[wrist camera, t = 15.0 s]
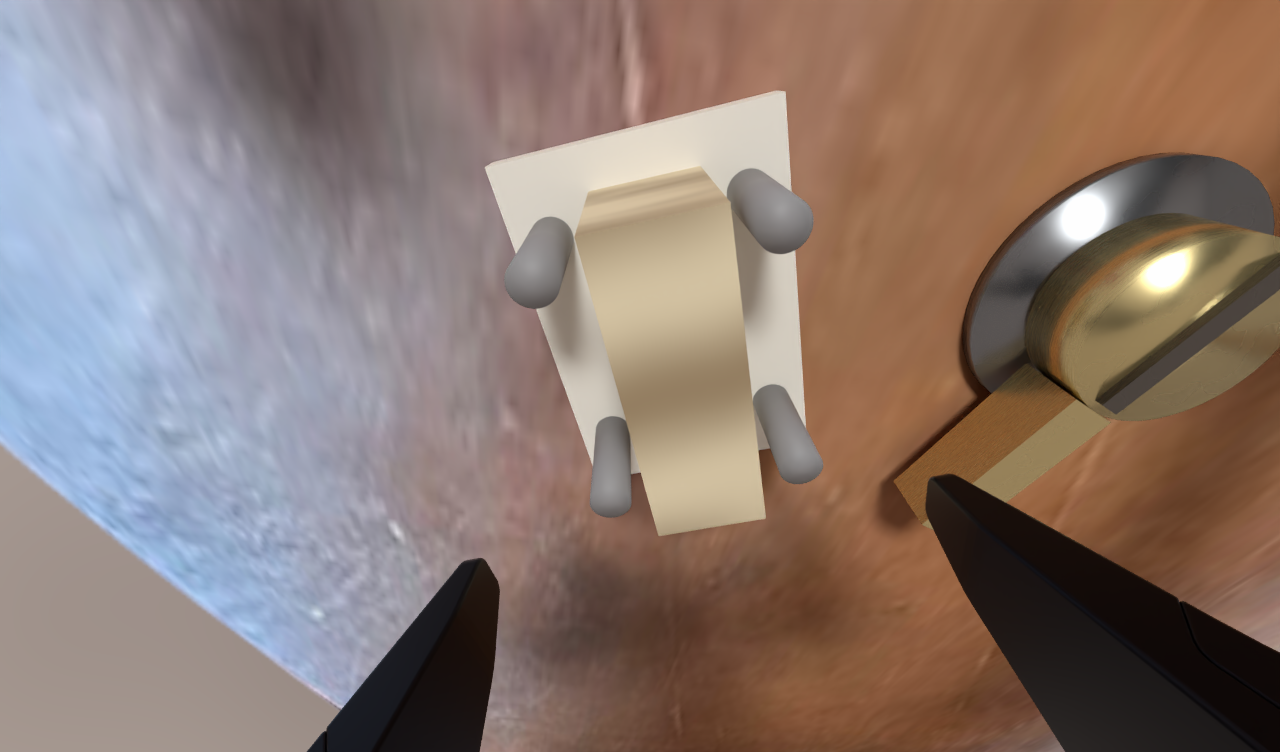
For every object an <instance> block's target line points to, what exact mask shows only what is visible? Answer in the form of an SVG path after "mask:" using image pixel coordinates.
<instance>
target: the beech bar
mask: <svg viewBox="0 0 1280 752" xmlns="http://www.w3.org/2000/svg"><path fill="white" fill-rule="evenodd" d="M574 238H575V241H576V245H577V248H578V252H579V255H580V259H581V263H582V266H583V270H584V273H585V277H586V280H587V284H588V287H589V291H590V295H591V298H592V302H593V305H594V309H595V312H596V316H597V319H598V323H599V326H600V330H601V334H602V337H603V341H604V344H605V348H606V351H607V355H608V358H609V362H610V365H611V369H612V373H613V376H614V380H615V383H616V387H617V390H618V394H619V397H620V401H621V405H622V408H623V412H624V415H625V419H626V422H627V426H628V429H629V433H630V436H631V440H632V444H633V447H634V451H635V454H636V458H637V461H638V465H639V468H640V472H641V475H642V479H643V483H644V486H645V490H646V493H647V497H648V500H649V504H650V507H651V511H652V515H653V518H654V522H655V525H656V529H657V532H658V536H663V535H669V534H675V533H681V532H687V531H693V530H699V529H705V528H711V527H717V526H723V525H729V524H735V523H741V522H747V521H753V520H759V519H765V518H766V516H765V507H764V498H763V489H762V480H761V471H760V462H759V453H758V444H757V435H756V426H755V417H754V408H753V399H752V390H751V381H750V372H749V363H748V355H747V346H746V337H745V328H744V319H743V310H742V301H741V292H740V283H739V274H738V265H737V256H736V247H735V238H734V229H733V220H732V211H731V202H730V201H729V200H728V199H727V197H726V196H725V195H724V194H723V193H722V191H721V190H720V189H719V188H718V187H717V185H716V184H715V183H714V182H713V180H712V179H711V178H710V177H709V176H708V174H707V173H706V172H705V171H704V170H703V168H702V167H701V166H697V167H693V168H688V169H684V170H680V171H675V172H671V173H667V174H662V175H658V176H654V177H649V178H645V179H640V180H636V181H632V182H627V183H623V184H619V185H614V186H610V187H606V188H601V189H597V190H592V191H588V194H587V197H586V201H585V204H584V207H583V210H582V214H581V217H580V220H579V223H578V227H577V230H576V233H575V236H574Z"/></svg>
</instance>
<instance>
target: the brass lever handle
mask: <svg viewBox="0 0 1280 752" xmlns="http://www.w3.org/2000/svg"><path fill="white" fill-rule="evenodd" d="M1024 342H1025V349H1026V353H1027V356H1028V358H1029V360H1030V362H1031V363H1032V364H1033V366H1034V367H1035V368H1036V369H1037V370H1038V371H1037V370H1036V369H1034V368H1033V367H1031V366H1030V365H1028V364H1027V363H1026V364H1024V365H1023V366H1022V367H1021V368H1020V369H1019V370H1018V371H1017V372H1015V373H1014V374H1013V375H1012V376H1011V377H1010V378H1009V379H1008V380H1006V381H1005V382H1004V383H1003V384H1002V385H1001V386H1000V387H999V388H997V389H996V390H995V391H994V392H993V393H992V394H991V395H990V396H989V397H987V398H986V399H985V400H984V401H983V402H982V403H981V404H980V405H978V406H977V407H976V408H975V409H974V410H973V411H972V412H971V413H969V414H968V415H967V416H966V417H965V418H964V419H963V420H962V421H960V422H959V423H958V424H957V425H956V426H955V427H954V428H953V429H951V430H950V431H949V432H948V433H947V434H946V435H945V436H944V437H942V438H941V439H940V440H939V441H938V442H937V443H936V444H935V445H933V446H932V447H931V448H930V449H929V450H928V451H927V452H926V453H924V454H923V455H922V456H921V457H920V458H919V459H918V460H917V461H915V462H914V463H913V464H912V465H911V466H910V467H909V468H908V469H906V470H905V471H904V472H903V473H902V474H901V475H900V476H899V477H897V478H896V479H895V480H894V483H895V484H896V486H897V488H898V489H899V491H900V492H901V494H902V495H903V497H904V498H905V500H906V501H907V503H908V504H909V506H910V507H911V509H912V510H913V512H914V513H915V515H916V516H917V518H918V519H919V521H920V522H921V524H922V525H924V526H926V527H928V528H930V529H932V530H933V528H932V526H931V524H930V522H929V519H928V517H927V514H926V510H925V502H926V493H927V484H928V480H929V478H930V477H932V476H937V475H943V474H954V475H957V476H959V477H961V478H962V479H964V480H966V481H968V482H970V483H971V484H973V485H975V486H977V487H979V488H980V489H982V490H984V491H986V492H988V493H989V494H991V495H993V496H995V497H997V498H998V499H1000V500H1002V501H1004V502H1007V501H1009V500H1010V499H1011V498H1013V497H1014V496H1015V495H1016V494H1018V493H1019V492H1020V491H1022V490H1023V489H1024V488H1026V487H1027V486H1028V485H1030V484H1031V483H1032V482H1034V481H1035V480H1036V479H1038V478H1039V477H1040V476H1041V475H1043V474H1044V473H1045V472H1047V471H1048V470H1049V469H1051V468H1052V467H1053V466H1055V465H1056V464H1057V463H1059V462H1060V461H1061V460H1063V459H1064V458H1065V457H1066V456H1068V455H1069V454H1070V453H1072V452H1073V451H1074V450H1076V449H1077V448H1078V447H1080V446H1081V445H1082V444H1084V443H1085V442H1086V441H1088V440H1089V439H1090V438H1091V437H1093V436H1094V435H1095V434H1097V433H1098V432H1099V431H1101V430H1102V429H1103V428H1105V427H1106V426H1107V425H1109V424H1110V423H1111V422H1110V421H1108V420H1107V419H1105V418H1104V417H1103V416H1105V417H1108V418H1111V419H1116V420H1122V421H1142V420H1151V419H1157V418H1162V417H1166V416H1170V415H1174V414H1177V413H1180V412H1183V411H1186V410H1188V409H1191V408H1193V407H1196V406H1198V405H1201V404H1203V403H1205V402H1207V401H1209V400H1211V399H1213V398H1215V397H1216V396H1218V395H1220V394H1222V393H1223V392H1225V391H1227V390H1229V389H1230V388H1232V387H1233V386H1235V385H1236V384H1238V383H1239V382H1241V381H1242V380H1243V379H1245V378H1246V377H1247V376H1249V375H1250V374H1251V373H1253V372H1254V371H1255V370H1256V369H1257V368H1259V367H1260V366H1261V365H1262V364H1263V363H1264V362H1265V361H1267V360H1268V359H1269V357H1270V356H1271V355H1272V354H1273V353H1274V352H1275V351H1276V350H1277V349H1278V348H1279V347H1280V237H1277V236H1273V235H1269V234H1265V233H1261V232H1257V231H1253V230H1249V229H1245V228H1241V227H1237V226H1233V225H1229V224H1225V223H1221V222H1217V221H1213V220H1209V219H1205V218H1201V217H1197V216H1193V215H1189V214H1183V213H1161V214H1155V215H1149V216H1145V217H1141V218H1138V219H1134V220H1131V221H1129V222H1126V223H1124V224H1121V225H1119V226H1116V227H1115V228H1113V229H1111V230H1109V231H1107V232H1105V233H1103V234H1101V235H1100V236H1098V237H1096V238H1095V239H1093V240H1092V241H1090V242H1088V243H1087V244H1086V245H1084V246H1083V247H1082V248H1080V249H1079V250H1078V251H1076V252H1075V253H1074V254H1073V255H1072V256H1071V257H1070V258H1068V259H1067V260H1066V261H1065V262H1064V263H1063V264H1062V265H1061V266H1060V267H1059V268H1058V269H1057V270H1056V271H1055V272H1054V274H1053V275H1052V276H1051V277H1050V279H1049V280H1048V281H1047V282H1046V283H1045V285H1044V286H1043V288H1042V289H1041V291H1040V292H1039V294H1038V296H1037V297H1036V299H1035V301H1034V303H1033V305H1032V307H1031V310H1030V312H1029V315H1028V318H1027V322H1026V326H1025V334H1024ZM1101 415H1102V416H1101Z"/></svg>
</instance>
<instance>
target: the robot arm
mask: <svg viewBox="0 0 1280 752" xmlns="http://www.w3.org/2000/svg"><path fill="white" fill-rule="evenodd" d="M925 510H926V514H927V517H928V519H929V522H930V524H931V526H932V528H933V530H934V532H935V534H936V536H937V538H938V540H939V542H940V544H941V546H942V548H943V550H944V552H945V554H946V556H947V558H948V560H949V562H950V564H951V566H952V568H953V570H954V572H955V574H956V576H957V578H958V580H959V582H960V584H961V586H962V588H963V590H964V592H965V594H966V595H967V597H968V599H969V600H970V602H971V604H972V605H973V607H974V608H975V610H976V612H977V613H978V615H979V616H980V618H981V619H982V621H983V623H984V624H985V626H986V627H987V629H988V631H989V632H990V634H991V635H992V637H993V638H994V640H995V642H996V643H997V645H998V646H999V648H1000V649H1001V651H1002V653H1003V654H1004V656H1005V657H1006V659H1007V661H1008V662H1009V664H1010V665H1011V667H1012V668H1013V670H1014V672H1015V673H1016V675H1017V676H1018V678H1019V679H1020V681H1021V683H1022V684H1023V686H1024V687H1025V689H1026V691H1027V692H1028V694H1029V695H1030V697H1031V698H1032V700H1033V702H1034V703H1035V705H1036V706H1037V708H1038V710H1039V711H1040V713H1041V714H1042V716H1043V717H1044V719H1045V721H1046V722H1047V724H1048V725H1049V727H1050V728H1051V730H1052V732H1053V733H1054V735H1055V736H1056V738H1057V740H1058V741H1059V743H1060V744H1061V746H1062V747H1063V749H1064V751H1065V752H1280V652H1278V651H1276V650H1274V649H1272V648H1270V647H1268V646H1266V645H1264V644H1262V643H1260V642H1258V641H1256V640H1255V639H1253V638H1251V637H1249V636H1247V635H1245V634H1243V633H1242V632H1240V631H1238V630H1236V629H1234V628H1232V627H1230V626H1228V625H1227V624H1225V623H1223V622H1221V621H1219V620H1217V619H1215V618H1214V617H1212V616H1210V615H1208V614H1206V613H1205V612H1203V611H1201V610H1199V609H1197V608H1196V607H1194V606H1192V605H1190V604H1188V603H1186V602H1184V601H1180V602H1179V600H1178V598H1177V597H1175V596H1174V595H1172V594H1170V593H1168V592H1166V591H1164V590H1163V589H1161V588H1159V587H1157V586H1155V585H1154V584H1152V583H1150V582H1148V581H1146V580H1145V579H1143V578H1141V577H1139V576H1137V575H1136V574H1134V573H1132V572H1130V571H1128V570H1127V569H1125V568H1123V567H1121V566H1119V565H1118V564H1116V563H1114V562H1112V561H1110V560H1109V559H1107V558H1105V557H1103V556H1101V555H1100V554H1098V553H1096V552H1094V551H1092V550H1091V549H1089V548H1087V547H1085V546H1083V545H1081V544H1080V543H1078V542H1076V541H1074V540H1072V539H1071V538H1069V537H1067V536H1065V535H1063V534H1062V533H1060V532H1058V531H1056V530H1054V529H1053V528H1051V527H1049V526H1047V525H1045V524H1044V523H1042V522H1040V521H1038V520H1036V519H1035V518H1033V517H1031V516H1029V515H1027V514H1026V513H1024V512H1022V511H1020V510H1018V509H1017V508H1015V507H1013V506H1011V505H1009V504H1007V503H1006V502H1004V501H1002V500H1000V499H998V498H997V497H995V496H993V495H991V494H989V493H988V492H986V491H984V490H982V489H980V488H979V487H977V486H975V485H973V484H971V483H970V482H968V481H966V480H964V479H962V478H961V477H959V476H957V475H954V474H943V475H937V476H932V477H930V478H929V480H928V484H927V493H926V502H925ZM499 595H500V589H499V584H498V581H497V579H496V577H495V576H494V574H493V572H492V571H491V569H490V567H489V566H488V564H487V562H486V561H485V560H484V559H483V558H477V559H471V560H466V561H464V562H462V563H461V564H460V565H459V566H458V568H457V569H456V570H455V571H454V573H453V574H452V575H451V576H450V577H449V579H448V580H447V581H446V582H445V584H444V585H443V586H442V587H441V588H440V590H439V591H438V592H437V593H436V595H435V596H434V597H433V598H432V599H431V601H430V602H429V603H428V604H427V606H426V607H425V608H424V609H423V610H422V612H421V613H420V614H419V615H418V617H417V618H416V619H415V620H414V621H413V623H412V624H411V625H410V626H409V628H408V629H407V630H406V631H405V632H404V634H403V635H402V636H401V637H400V639H399V640H398V641H397V642H396V643H395V645H394V646H393V647H392V648H391V650H390V651H389V652H388V653H387V654H386V656H385V657H384V658H383V659H382V661H381V662H380V663H379V664H378V665H377V667H376V668H375V669H374V670H373V672H372V673H371V674H370V675H369V676H368V678H367V679H366V680H365V681H364V683H363V684H362V685H361V686H360V688H359V689H358V690H357V691H356V692H355V694H354V695H353V696H352V697H351V699H350V700H349V701H348V702H347V703H346V705H345V706H344V707H343V708H342V710H341V711H340V712H339V713H338V715H337V716H336V717H335V718H334V719H333V721H332V722H331V723H330V724H329V726H328V727H327V730H326V731H324V732H323V733H322V734H321V735H320V736H319V737H318V739H317V740H316V741H315V742H314V744H313V745H312V746H311V747H310V749H309V750H308V751H307V752H480V746H481V741H482V735H483V729H484V723H485V718H486V712H487V706H488V701H489V695H490V689H491V684H492V677H493V671H494V662H495V651H496V637H497V623H498V609H499Z"/></svg>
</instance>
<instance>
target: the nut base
mask: <svg viewBox="0 0 1280 752" xmlns="http://www.w3.org/2000/svg"><path fill="white" fill-rule="evenodd" d="M1161 213H1183V214H1189V215H1193V216H1197V217H1201V218H1205V219H1209V220H1213V221H1217V222H1221V223H1225V224H1229V225H1233V226H1237V227H1241V228H1245V229H1249V230H1253V231H1257V232H1261V233H1265V234H1269V235H1274V215H1273V207H1272V204H1271V201H1270V198H1269V195H1268V193H1267V191H1266V190H1265V188H1264V187H1263V185H1262V183H1261V182H1260V181H1259V180H1258V179H1257V178H1256V177H1255V176H1254V175H1253V174H1252V173H1251V172H1250V171H1249V170H1247V169H1245V168H1243V167H1242V166H1240V165H1238V164H1236V163H1234V162H1231V161H1228V160H1225V159H1222V158H1218V157H1211V156H1204V155H1197V154H1189V153H1159V154H1153V155H1147V156H1141V157H1137V158H1134V159H1130V160H1127V161H1123V162H1120V163H1117V164H1114V165H1112V166H1109V167H1107V168H1104V169H1102V170H1099V171H1097V172H1095V173H1093V174H1091V175H1089V176H1087V177H1085V178H1083V179H1081V180H1079V181H1078V182H1076V183H1074V184H1072V185H1071V186H1069V187H1068V188H1066V189H1065V190H1063V191H1061V192H1060V193H1058V194H1057V195H1055V196H1054V197H1052V198H1051V199H1050V200H1049V201H1047V202H1046V203H1045V204H1043V205H1042V206H1041V207H1039V208H1038V209H1037V210H1036V211H1035V212H1033V213H1032V214H1031V215H1030V216H1029V217H1028V218H1027V219H1026V220H1025V221H1024V222H1022V223H1021V224H1020V225H1019V226H1018V227H1017V228H1016V229H1015V231H1014V232H1013V233H1012V234H1011V235H1010V236H1009V237H1008V238H1007V239H1006V240H1005V241H1004V243H1003V244H1002V245H1001V246H1000V248H999V249H998V250H997V252H996V253H995V254H994V256H993V257H992V258H991V260H990V261H989V263H988V264H987V266H986V268H985V269H984V271H983V273H982V274H981V276H980V278H979V280H978V282H977V284H976V286H975V288H974V290H973V292H972V295H971V298H970V301H969V304H968V306H967V310H966V314H965V319H964V324H963V347H964V353H965V357H966V360H967V363H968V366H969V368H970V369H971V371H972V373H973V375H974V376H975V377H976V379H977V380H978V381H979V382H980V384H981V385H983V386H984V387H985V388H986V389H987V390H988V391H989V392H991V393H993V392H994V391H995V390H996V389H997V388H999V387H1000V386H1001V385H1002V384H1003V383H1004V382H1005V381H1006V380H1008V379H1009V378H1010V377H1011V376H1012V375H1013V374H1014V373H1015V372H1017V371H1018V370H1019V369H1020V368H1021V367H1022V366H1023V365H1024V364H1026V363H1027V364H1028V365H1030V366H1031V367H1033V368H1034V369H1036V368H1035V367H1034V366H1033V364H1032V363H1031V362H1030V360H1029V358H1028V356H1027V353H1026V349H1025V342H1024V334H1025V326H1026V322H1027V318H1028V315H1029V312H1030V310H1031V307H1032V305H1033V303H1034V301H1035V299H1036V297H1037V296H1038V294H1039V292H1040V291H1041V289H1042V288H1043V286H1044V285H1045V283H1046V282H1047V281H1048V280H1049V279H1050V277H1051V276H1052V275H1053V274H1054V272H1055V271H1056V270H1057V269H1058V268H1059V267H1060V266H1061V265H1062V264H1063V263H1064V262H1065V261H1066V260H1067V259H1068V258H1070V257H1071V256H1072V255H1073V254H1074V253H1075V252H1076V251H1078V250H1079V249H1080V248H1082V247H1083V246H1084V245H1086V244H1087V243H1088V242H1090V241H1092V240H1093V239H1095V238H1096V237H1098V236H1100V235H1101V234H1103V233H1105V232H1107V231H1109V230H1111V229H1113V228H1115V227H1116V226H1119V225H1121V224H1124V223H1126V222H1129V221H1131V220H1134V219H1138V218H1141V217H1145V216H1149V215H1155V214H1161ZM1036 370H1037V369H1036ZM1037 371H1038V370H1037Z"/></svg>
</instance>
